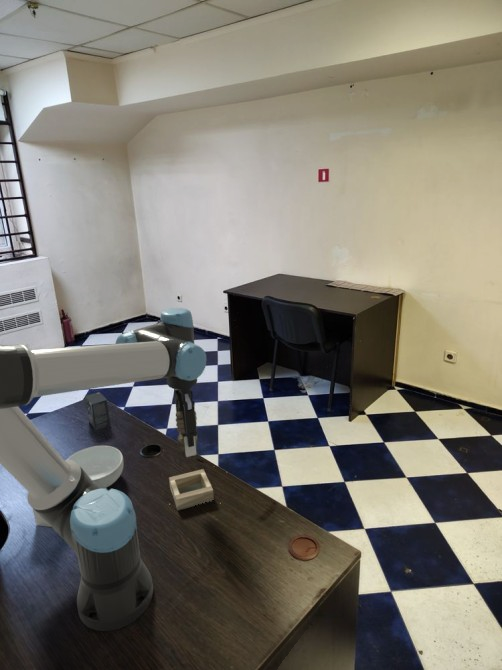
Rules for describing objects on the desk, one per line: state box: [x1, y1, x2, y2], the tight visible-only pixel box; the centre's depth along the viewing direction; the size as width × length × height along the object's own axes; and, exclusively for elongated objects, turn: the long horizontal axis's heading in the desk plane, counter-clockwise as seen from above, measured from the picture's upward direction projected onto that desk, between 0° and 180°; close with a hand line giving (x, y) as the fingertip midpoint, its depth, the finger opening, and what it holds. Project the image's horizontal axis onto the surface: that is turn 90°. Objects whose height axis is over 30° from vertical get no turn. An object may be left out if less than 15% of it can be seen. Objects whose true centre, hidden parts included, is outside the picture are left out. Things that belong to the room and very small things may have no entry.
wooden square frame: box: [168, 468, 215, 511], centre depth 123 cm, size 10×10×4 cm
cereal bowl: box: [66, 445, 124, 489], centre depth 129 cm, size 17×17×7 cm
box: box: [84, 391, 111, 431], centre depth 160 cm, size 8×6×11 cm
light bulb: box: [175, 411, 198, 460], centre depth 118 cm, size 6×6×15 cm
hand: (188, 448), depth 119 cm, fingers closed on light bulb, 5 cm apart
